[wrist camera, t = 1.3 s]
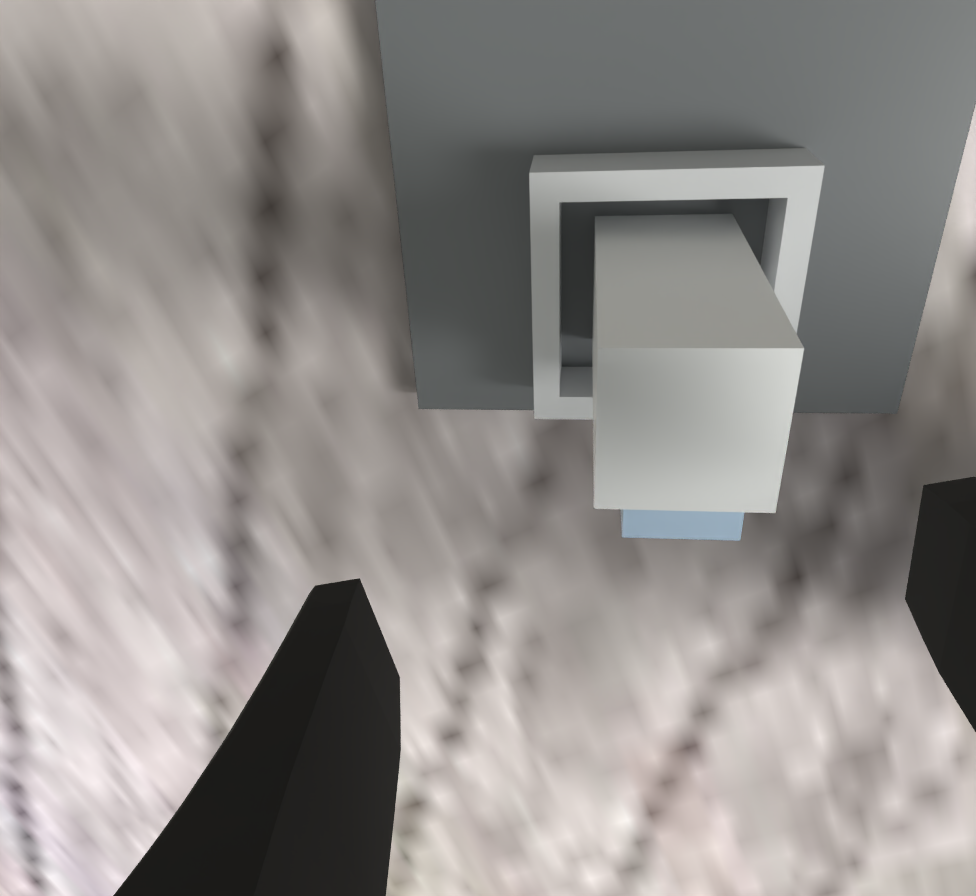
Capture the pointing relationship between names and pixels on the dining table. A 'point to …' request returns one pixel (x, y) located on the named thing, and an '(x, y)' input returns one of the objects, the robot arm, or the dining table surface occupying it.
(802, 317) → the port board
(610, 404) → the plug
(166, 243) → the dining table surface
